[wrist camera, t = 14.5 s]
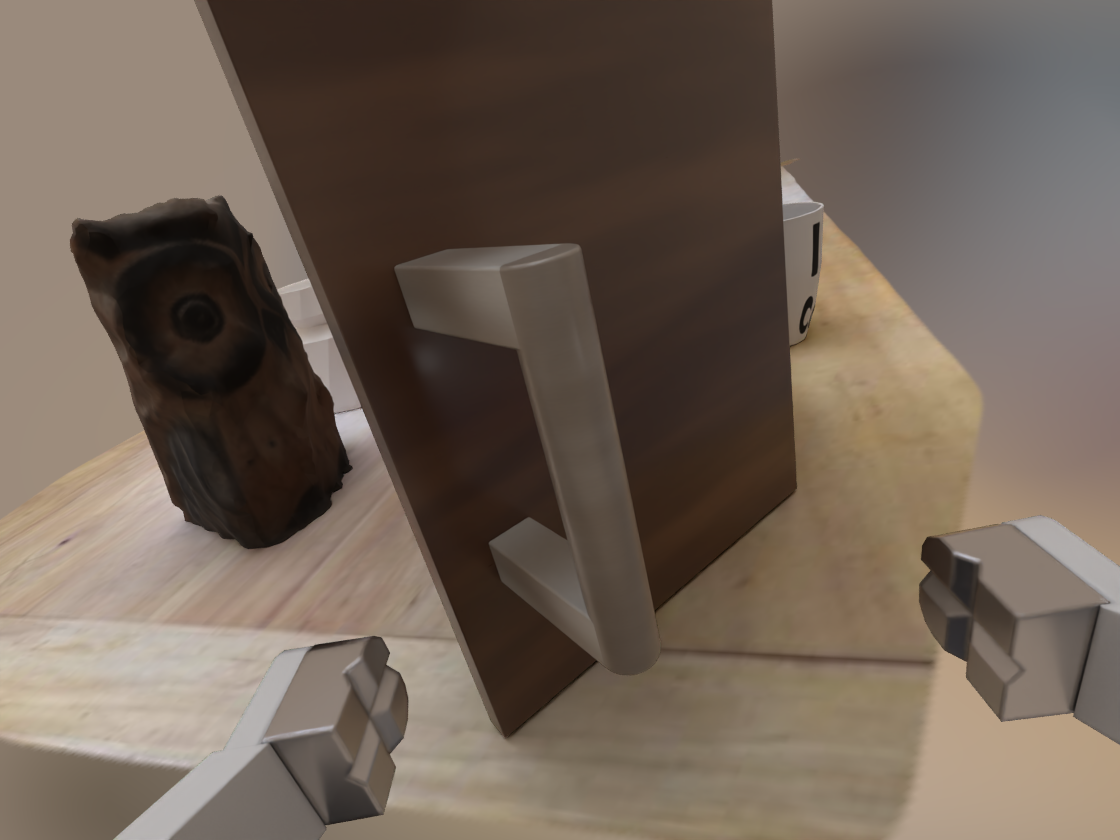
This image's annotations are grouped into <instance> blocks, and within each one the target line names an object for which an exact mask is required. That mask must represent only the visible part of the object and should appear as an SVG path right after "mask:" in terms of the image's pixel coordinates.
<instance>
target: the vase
mask: <svg viewBox="0 0 1120 840" xmlns="http://www.w3.org/2000/svg"><path fill="white" fill-rule="evenodd" d="M277 291H278V293H279V295H280V296H281V298H282V303H283V305H284V307H285V309H286V311H287V313H288V317H289V319H290V320H291V323H292V324H293V326H294V327H297V329H296V330H297V332H298V334H299V336H300V337H301V339H302V341H303V347H304V350H305V352H307V355H308V360H309V363H310V365H311V367H312V369H313V371H314V373H315V374H317V375H318V376H319V377H320V378H321V380H322V382H323V384H324V386H326V387H327V389H328V391H329V392H330V394H331V396H332V400H333V402H334V409H333V410H334V413H338V412H343V411H348V410H353V409H357V408H360V407H361V404H360V402H359V400H358V397H357V395H356V392H355V390H354V387H353V385H352V383H351V380H350V378H349V375H348V373H347V370H346V368H345V366H344V363H343V361H342V358H341V356H340V353H339V351H338V348H337V346H336V344H335V341H334V339H333V336H332V334H331V331H330V329H329V327H328V324H327V322H326V319H325V317H324V314H323V312H322V310H321V307H320V305H319V302H318V300H317V297H316V295H315V293H314V290H313V288H312V285H311V283H310V280H309V279H306V280H303V281H300V282H296V283H293V284H290V285H287V286H285V287H282V288H280V289H277Z"/></svg>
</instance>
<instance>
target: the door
mask: <svg viewBox="0 0 1120 840" xmlns="http://www.w3.org/2000/svg"><path fill="white" fill-rule="evenodd" d="M194 1H195V3H196V6H197V8H198V11H199V13H200V16H201V18H202V20H203V23H204V25H205V28H206V30H207V33H208V35H209V37H210V40H211V42H212V45H213V47H214V49H215V52H216V54H217V57H218V59H219V62H220V64H221V67H222V69H223V71H224V74H225V76H226V79H227V81H228V83H229V86H230V88H231V91H232V93H233V96H234V98H235V101H236V103H237V105H238V108H239V110H240V113H241V115H242V117H243V120H244V122H245V125H246V127H247V130H248V132H249V135H250V137H251V140H252V142H253V144H254V147H255V149H256V152H257V154H258V157H259V159H260V161H261V164H262V166H263V169H264V171H265V173H266V176H267V178H268V181H269V183H270V186H271V188H272V191H273V193H274V195H275V198H276V200H277V203H278V205H279V208H280V210H281V212H282V215H283V217H284V220H285V222H286V225H287V227H288V229H289V232H290V234H291V237H292V239H293V241H294V244H295V246H296V249H297V251H298V254H299V256H300V258H301V261H302V263H303V266H304V268H305V271H306V273H307V275H308V278H309V280H310V283H311V285H312V288H313V290H314V293H315V295H316V297H317V300H318V302H319V305H320V307H321V310H322V312H323V314H324V317H325V319H326V322H327V324H328V327H329V329H330V331H331V334H332V336H333V339H334V341H335V344H336V346H337V348H338V351H339V353H340V356H341V358H342V361H343V363H344V366H345V368H346V370H347V373H348V375H349V378H350V380H351V383H352V385H353V387H354V390H355V392H356V395H357V397H358V400H359V402H360V404H361V407H362V409H363V412H364V414H365V417H366V419H367V421H368V424H369V426H370V429H371V431H372V434H373V436H374V438H375V441H376V443H377V446H378V448H379V451H380V453H381V455H382V458H383V460H384V463H385V465H386V468H387V470H388V472H389V475H390V477H391V480H392V482H393V485H394V487H395V489H396V492H397V494H398V497H399V499H400V502H401V504H402V506H403V509H404V511H405V514H406V516H407V519H408V521H409V523H410V526H411V528H412V531H413V533H414V536H415V538H416V540H417V543H418V545H419V548H420V550H421V553H422V555H423V557H424V560H425V562H426V565H427V567H428V570H429V572H430V574H431V577H432V579H433V582H434V584H435V587H436V589H437V592H438V594H439V596H440V599H441V601H442V604H443V606H444V609H445V611H446V613H447V616H448V618H449V621H450V623H451V626H452V628H453V630H454V633H455V635H456V638H457V640H458V643H459V645H460V647H461V650H462V652H463V655H464V657H465V660H466V662H467V664H468V667H469V669H470V672H471V674H472V677H473V679H474V681H475V684H476V686H477V689H478V691H479V694H480V696H481V698H482V701H483V703H484V706H485V708H486V711H487V713H488V715H489V718H490V720H491V722H492V723H493V724H494V726H495V727H496V728H497V729H498V730H499V732H500V733H501V734H502V735H503V737H504V738H506V737H507V736H509V735H510V734H511V733H512V732H513V731H514V730H516V729H517V728H518V727H519V726H520V725H521V724H523V723H524V722H525V721H526V720H527V719H528V718H529V717H531V716H532V715H533V714H534V713H535V712H536V711H538V710H539V709H540V708H541V707H542V706H543V705H545V704H546V703H547V702H548V701H549V700H550V699H552V698H553V697H554V696H555V695H556V694H557V693H559V692H560V691H561V690H562V689H563V688H564V687H566V686H567V685H568V684H569V683H570V682H571V681H573V680H574V679H575V678H576V677H577V676H578V675H580V674H581V673H582V672H583V671H584V670H585V669H587V668H588V667H589V666H590V665H591V664H592V663H594V662H595V661H596V660H597V661H598V662H600V663H601V664H602V665H603V666H604V667H606V668H607V669H608V670H610V671H612V672H613V673H616V674H619V675H636V674H639V673H642V672H644V671H646V670H648V669H649V668H650V667H652V666H653V665H654V664H655V662H656V661H657V659H658V657H659V655H660V651H661V642H660V637H659V632H658V627H657V622H656V617H655V612H654V610H655V609H657V608H658V607H659V606H660V605H661V604H662V603H664V602H665V601H666V600H667V599H668V598H669V597H671V596H672V595H673V594H674V593H675V592H676V591H678V590H679V589H680V588H681V587H682V586H683V585H685V584H686V583H687V582H688V581H689V580H690V579H692V578H693V577H694V576H695V575H696V574H697V573H699V572H700V571H701V570H702V569H703V568H704V567H705V566H707V565H708V564H709V563H710V562H711V561H712V560H714V559H715V558H716V557H717V556H718V555H719V554H721V553H722V552H723V551H724V550H725V549H726V548H728V547H729V546H730V545H731V544H732V543H733V542H735V541H736V540H737V539H738V538H739V537H740V536H742V535H743V534H744V533H745V532H746V531H747V530H749V529H750V528H751V527H752V526H753V525H754V524H756V523H757V522H758V521H759V520H760V519H761V518H763V517H764V516H765V515H766V514H767V513H768V512H770V511H771V510H772V509H773V508H774V507H775V506H777V505H778V504H779V503H780V502H781V501H782V500H784V499H785V498H786V497H787V496H788V495H789V494H791V493H792V492H793V491H794V490H795V489H796V488H797V481H796V461H795V441H794V422H793V402H792V382H791V363H790V343H789V323H788V304H787V284H786V264H785V245H784V225H783V205H782V186H781V166H780V146H779V128H778V107H777V88H776V68H775V50H774V49H775V48H774V31H773V30H774V29H773V9H772V0H194Z"/></svg>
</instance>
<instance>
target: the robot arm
mask: <svg viewBox="0 0 1120 840" xmlns="http://www.w3.org/2000/svg"><path fill="white" fill-rule="evenodd" d="M921 560H922V561H923V562H924V563H925V565H926V566H927V567H928V568H929V569H930V572H929V573H928V574H927V575H926V576H925V578H924V579H923V580H922V581H921V582H920V584H919V603H920V606H921V610H922V613H923V616H924V620H925V622H926V624H927V626H928V628H929V629H930V631H931V633H932V635H933V636H934V638H935V639H936V640H937V641H938V643H939V644H940V645H941V647H942V648H943V649H944V650H945V651H947V652H948V653H951V654H952V655H954V656H956V657H958V658H960V659H962V660H964V661H966V662H967V667H966V678H967V680H968V681H969V682H970V683H971V684H972V686H973V687H974V688H975V689H976V691H977V692H978V693H979V694H980V696H981V697H982V698H983V699H984V701H985V702H986V703H987V704H988V706H989V707H990V708H991V709H992V711H993V712H994V713H995V714H996V716H997V717H998V718H999V719H1000V721H1001V722H1003V721H1011V720H1018V719H1028V718H1036V717H1044V716H1052V715H1060V714H1068V713H1074V716H1073V717H1075V718H1076V719H1078V720H1080V721H1081V722H1083V723H1085V724H1086V725H1088V726H1090V727H1091V728H1093V729H1095V730H1096V731H1098V732H1100V733H1101V734H1103V735H1105V736H1106V737H1108V738H1109V739H1111V740H1113V741H1114V742H1116V743H1118V744H1120V566H1119V565H1117V564H1116V563H1114V562H1113V561H1112V560H1110V559H1108V558H1107V557H1106V556H1104V555H1103V554H1102V553H1100V552H1099V551H1098V550H1096V549H1095V548H1093V547H1092V546H1091V545H1089V544H1088V543H1086V542H1085V541H1084V540H1082V539H1081V538H1079V537H1078V536H1076V535H1075V534H1074V533H1072V532H1071V531H1070V530H1068V529H1067V528H1065V527H1064V526H1062V525H1061V524H1059V523H1058V522H1057V521H1056V520H1054V519H1051V518H1049V517H1045V516H1042V515H1039V516H1034V517H1028V518H1023V519H1018V520H1014V521H1008V522H1003V523H1001V524H994V525H989V526H984V527H978V528H973V529H967V530H962V531H957V532H951V533H946V534H941V535H935V536H930V537H927V538H926V540H925V542H924V543H923V545H922V554H921ZM389 654H390V652H389V650H388V648H387V646H386V645H385V643H384V641H383V639H382V638H381V637H376V636H371V637H364V638H357V639H351V640H344V641H338V642H331V643H325V644H318V645H314V646H311V647H304V648H297V649H290V650H284V651H283V652H282V653H280V654H279V655H278V656H276V657H275V658H274V660H273V662H272V664H271V665H270V667H269V669H268V671H267V672H266V674H265V676H264V678H263V680H262V681H261V683H260V685H259V687H258V688H257V690H256V692H255V694H254V696H253V697H252V699H251V701H250V703H249V704H248V706H247V708H246V710H245V712H244V713H243V715H242V717H241V719H240V720H239V722H238V724H237V726H236V728H235V729H234V731H233V733H232V735H231V736H230V738H229V740H228V742H227V743H226V745H225V747H224V749H223V750H221V751H216V752H212V753H211V754H210V755H209V756H207V757H206V758H205V759H204V760H203V761H202V762H201V763H199V764H198V765H197V766H196V767H195V768H194V769H193V770H192V771H190V772H189V773H188V774H187V775H186V776H185V777H184V778H183V779H181V780H180V781H179V782H178V783H177V784H176V785H175V786H173V787H172V788H171V789H170V790H169V791H168V792H167V793H166V794H165V795H163V796H162V797H161V798H160V799H159V800H158V801H156V802H155V803H154V804H153V805H152V806H151V807H150V808H149V809H147V810H146V811H145V812H144V813H143V814H142V815H140V816H139V817H138V818H137V819H136V820H135V821H134V822H133V823H131V824H130V825H129V826H128V827H127V828H126V829H125V830H123V831H122V832H121V833H120V834H119V835H118V836H117V837H116V838H115V839H113V840H319V838H320V837H321V836H322V835H323V833H324V832H325V831H326V826H325V825H330V824H335V823H341V822H346V821H352V820H357V819H363V818H368V817H373V816H379V815H384V811H385V807H386V804H387V800H388V796H389V792H390V788H391V784H392V781H393V777H394V773H395V769H396V766H395V764H394V762H393V760H392V758H391V756H390V753H391V752H392V751H393V750H394V749H395V747H396V746H397V745H398V744H399V743H400V742H401V740H402V739H403V738H404V734H405V730H406V726H407V721H408V695H407V691H406V686H405V683H404V681H403V679H402V677H401V675H400V673H399V672H397V671H396V670H394V669H392V668H391V667H389V666H387V665H386V664H387V660H388V657H389Z"/></svg>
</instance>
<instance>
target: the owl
mask: <svg viewBox="0 0 1120 840" xmlns="http://www.w3.org/2000/svg"><path fill="white" fill-rule="evenodd" d="M72 229H73V234H72V237H71V239H70V248H71V252H72V253H73V254H74V258H75V261H76V263H77V265H78V268H79V271H80V273H81V276H82V278H83V279H84V282H85V284H86V287H87V290H88V293H89V296H90V300H91V304H92V307H93V309H94V311H95V313H96V315H97V316H98V318H99V320H100V322H101V323H102V325H103V326H104V328H105V330H106V331H107V333H108V335H109V337H110V339H111V341H112V343H113V345H114V347H115V349H116V351H117V354H118V356H119V358H120V360H121V362H122V365H123V368H124V371H125V374H126V377H127V380H128V383H129V387H130V392H131V395H132V400H133V403H134V406H135V409H136V412H137V414H138V416H139V418H140V421H141V423H142V425H143V427H144V430H145V433H146V435H147V437H148V440H149V443H150V446H151V448H152V450H153V453H154V455H155V458H156V460H157V462H158V465H159V468H160V470H161V472H162V474H163V477H164V481H165V484H166V486H167V489H168V493H169V495H170V498H171V501H172V503H173V504H174V505H175V506H177V507H179V508H180V509H181V510H182V511H183V513H184V517H185V521H189V522H192V523H194V524H196V525H199V526H202V527H204V528H205V530H208V531H215V532H218V533H219V535H220V536H221V537H222V538H223V539H236V540H237V541H238V542H239V544H240V545H241V546H243V547H245V548H248V549H249V548H260V547H268V546H272V545H275V544H278V543H280V542H282V541H284V540H286V539H287V538H289V537H290V536H291V535H293V534H294V533H295V532H296V531H298V530H301V529H302V528H304V527H305V526H306V525H307V524H309V523H310V522H311V521H313V520H314V519H315V518H317V517H318V516H320V515H322V514H323V513H324V512H325V511H326V510H327V509H328V508H330V506H331V500H330V497H331V494H332V492H334V491H336V490H338V489H340V488H342V485H343V484H342V482H341V479H342V477H343V476H344V475H343V473H347V472H348V471H349V470H351V469H352V466H351V465H349V460H348V457H347V454H346V450H345V448H344V445H343V443H342V440H341V438H340V435H339V432H338V430H337V427H336V422H335V416H334V410H333V409H334V402H333V400H332V396H331V394H330V392H329V391H328V389H327V387H326V386H324V384H323V382H322V380H321V378H320V377H319V376H318V375H317V374H315V373H314V371H313V369H312V367H311V365H310V363H309V360H308V355H307V352H305V350H304V347H303V341H302V339H301V337H300V336H299V334H298V332H297V330H296V329H295V328H294V326H293V324H292V323H291V320H290V319H289V317H288V313H287V311H286V309H285V307H284V305H283V303H282V298H281V296H280V295H279V293H278V291H277V289H276V287H275V285H274V282H273V280H272V278H271V275H270V272H269V269H268V267H267V264H266V262H265V260H264V257H263V255H262V252H261V249H260V247H259V245H258V243H257V242H256V241H255V239H254V238H253V234H252V233H250V232H247V231H246V229H245V228H244V227H243V226H242V225H240V223H239V222H238V221H237V220H236V219H235V217H234V216H233V214H232V212H231V211H230V208H229V206H228V204H227V202H226V200H225V199H224V198H223V196H215V197H213V198H211V199H208V200H206V201H205V200H204V199H198V198H191V199H177V198H174V199H170V200H168V201H167V202H165V203H157V204H155V205H153V206H151V207H147V208H145V209H143V210H142V211H140V212H138V213H132V214H120V215H117V216H115V217H113V218H111V219H108V220H105V221H93V220H83V219H80V218H77V219H76V220H75V221H74V222H73V223H72Z"/></svg>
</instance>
